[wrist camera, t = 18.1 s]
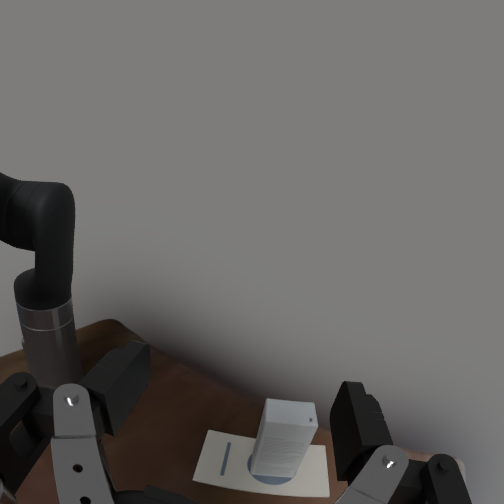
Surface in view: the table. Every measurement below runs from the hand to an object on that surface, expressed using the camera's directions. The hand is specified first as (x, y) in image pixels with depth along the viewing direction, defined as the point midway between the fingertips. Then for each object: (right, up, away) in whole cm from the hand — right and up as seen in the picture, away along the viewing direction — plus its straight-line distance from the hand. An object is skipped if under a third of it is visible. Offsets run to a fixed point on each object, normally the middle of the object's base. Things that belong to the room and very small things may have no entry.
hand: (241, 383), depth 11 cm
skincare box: (+3, -24, +21) cm, 32 cm away
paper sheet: (+2, -24, +21) cm, 32 cm away
